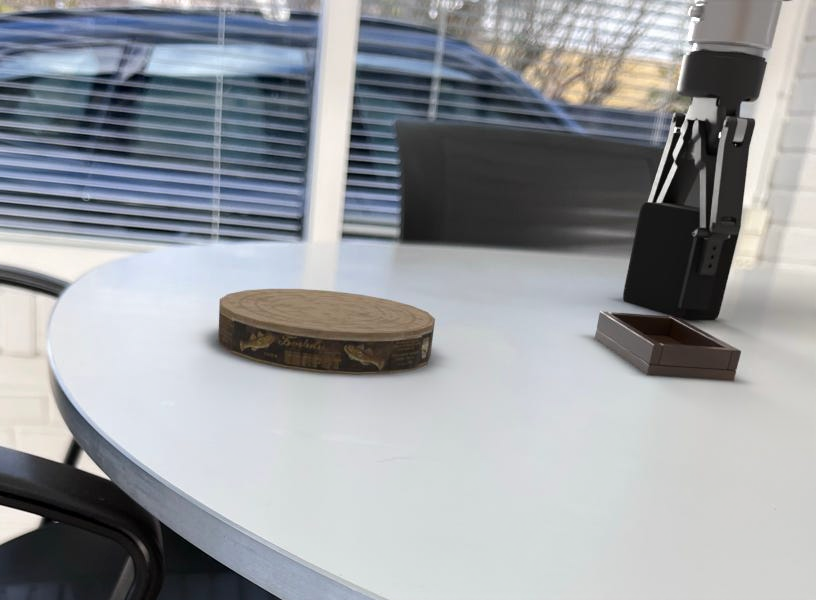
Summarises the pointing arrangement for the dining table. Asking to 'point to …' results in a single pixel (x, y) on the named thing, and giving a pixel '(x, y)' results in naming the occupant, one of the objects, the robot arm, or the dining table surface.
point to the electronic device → (670, 261)
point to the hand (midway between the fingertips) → (671, 298)
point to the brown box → (667, 346)
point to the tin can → (325, 331)
